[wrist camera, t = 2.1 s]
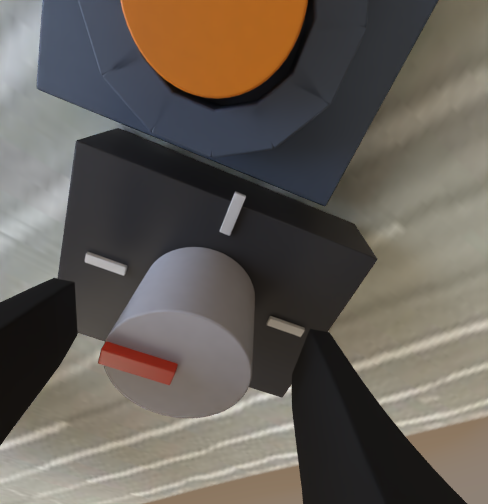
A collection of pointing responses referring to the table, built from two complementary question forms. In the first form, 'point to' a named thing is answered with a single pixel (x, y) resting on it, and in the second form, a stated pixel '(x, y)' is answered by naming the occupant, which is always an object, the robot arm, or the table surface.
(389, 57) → the button base
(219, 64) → the button
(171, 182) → the dial panel
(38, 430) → the table surface
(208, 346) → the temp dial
